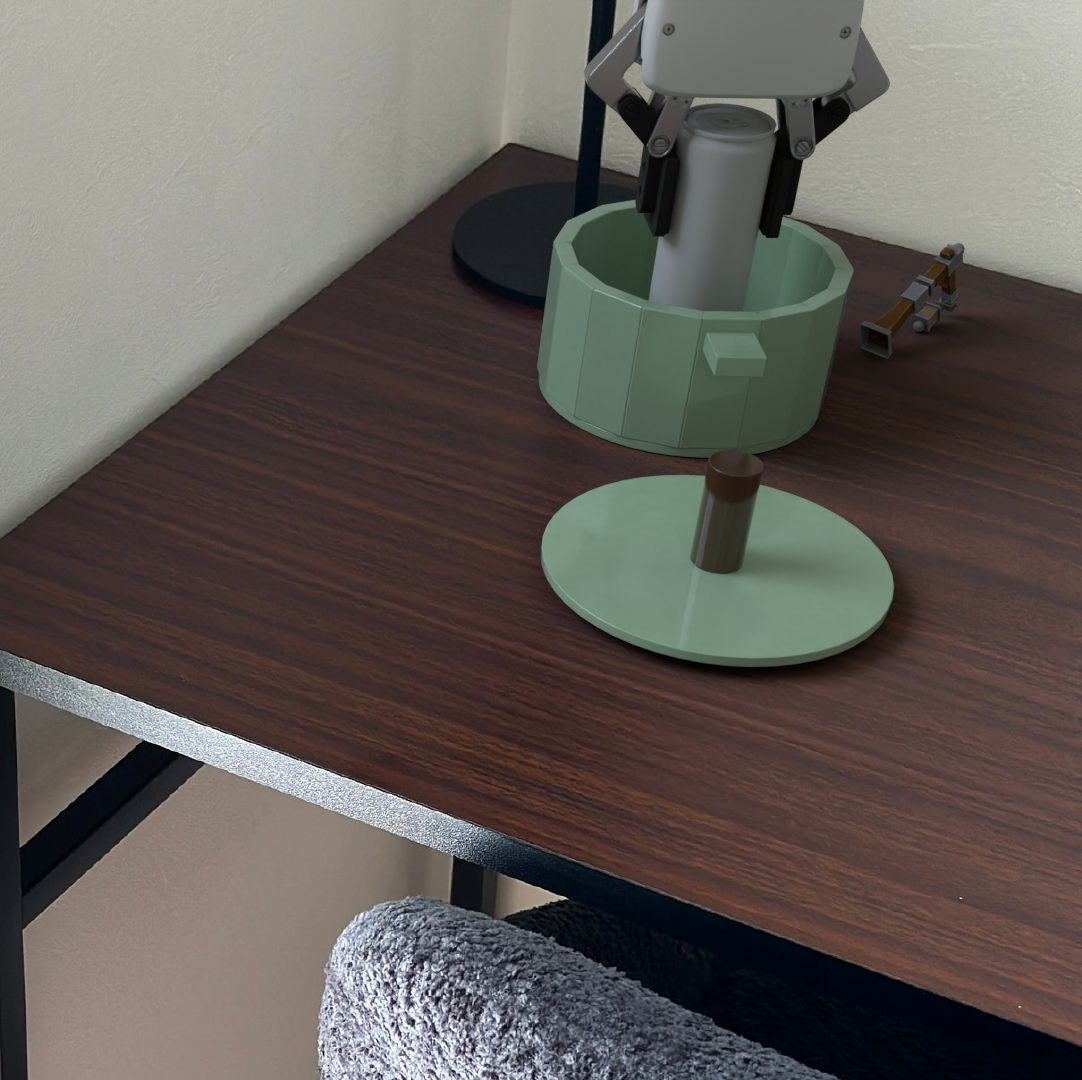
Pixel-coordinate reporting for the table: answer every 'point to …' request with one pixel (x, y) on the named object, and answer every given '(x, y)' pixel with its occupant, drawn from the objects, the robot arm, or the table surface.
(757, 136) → the beverage can
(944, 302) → the toy blunderbuss gun
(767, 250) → the pot
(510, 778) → the table surface
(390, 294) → the table surface
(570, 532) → the lid
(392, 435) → the table surface
